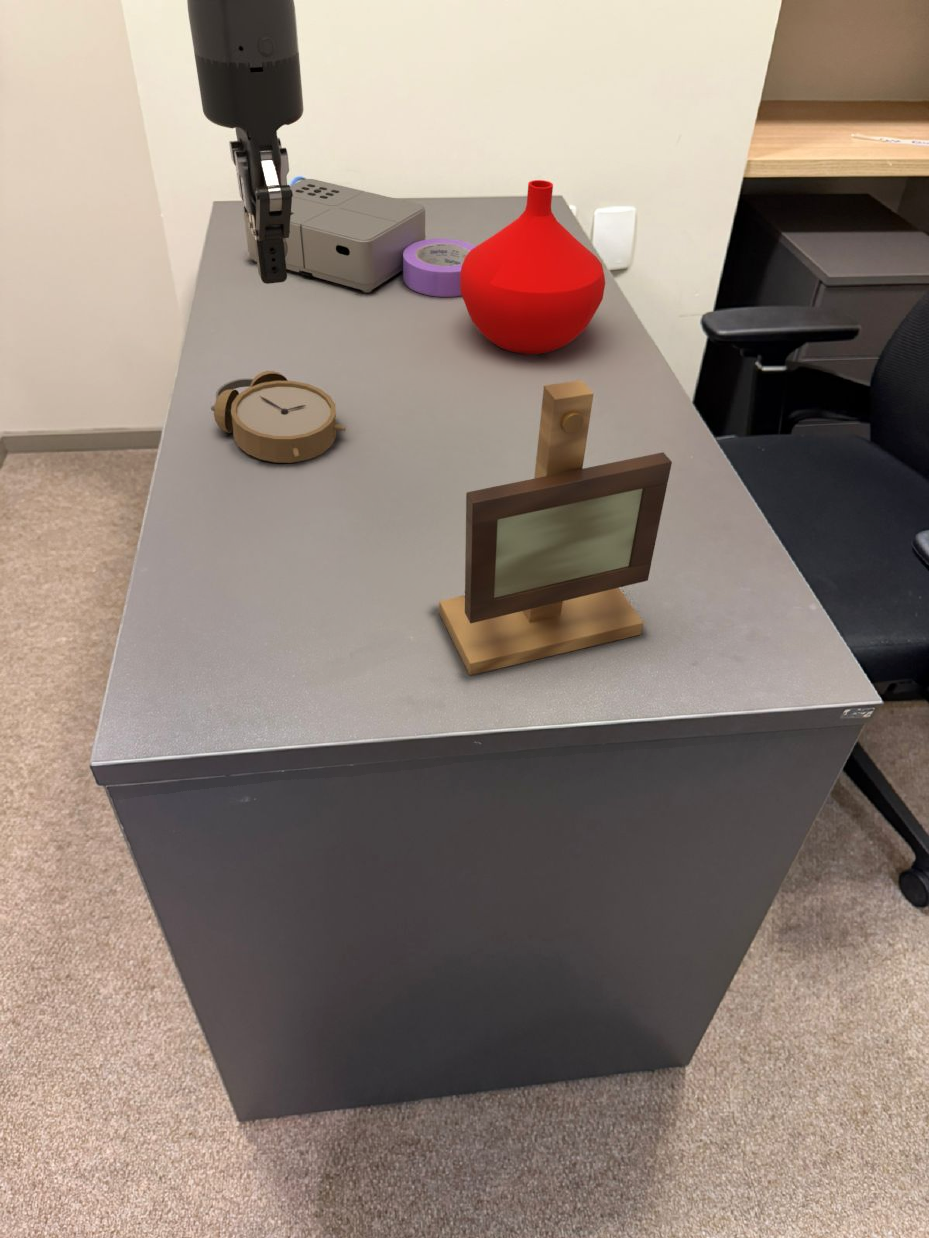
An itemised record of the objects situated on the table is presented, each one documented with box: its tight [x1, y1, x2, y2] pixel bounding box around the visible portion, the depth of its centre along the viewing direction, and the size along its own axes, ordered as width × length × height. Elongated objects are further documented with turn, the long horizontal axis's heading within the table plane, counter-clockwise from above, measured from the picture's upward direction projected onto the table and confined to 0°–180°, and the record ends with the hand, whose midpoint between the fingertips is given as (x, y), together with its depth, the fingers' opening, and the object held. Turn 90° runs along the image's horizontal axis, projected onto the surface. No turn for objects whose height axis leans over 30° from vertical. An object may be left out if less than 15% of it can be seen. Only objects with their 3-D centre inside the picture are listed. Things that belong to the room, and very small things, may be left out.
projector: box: [242, 178, 426, 294], centre depth 132 cm, size 17×22×8 cm
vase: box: [460, 179, 606, 355], centre depth 112 cm, size 18×18×19 cm
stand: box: [438, 379, 644, 676], centre depth 71 cm, size 16×8×23 cm, turn 110°
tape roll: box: [402, 238, 477, 298], centre depth 130 cm, size 12×12×4 cm
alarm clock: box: [210, 370, 347, 464], centre depth 99 cm, size 11×5×15 cm
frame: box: [464, 451, 673, 623], centre depth 70 cm, size 16×1×12 cm, turn 110°
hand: (273, 279), depth 77 cm, fingers closed
